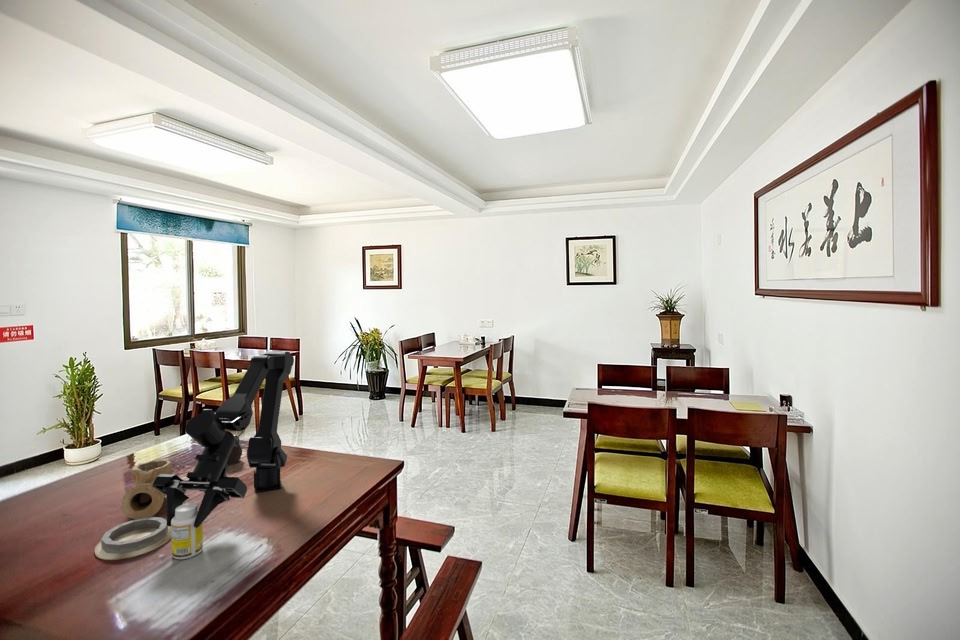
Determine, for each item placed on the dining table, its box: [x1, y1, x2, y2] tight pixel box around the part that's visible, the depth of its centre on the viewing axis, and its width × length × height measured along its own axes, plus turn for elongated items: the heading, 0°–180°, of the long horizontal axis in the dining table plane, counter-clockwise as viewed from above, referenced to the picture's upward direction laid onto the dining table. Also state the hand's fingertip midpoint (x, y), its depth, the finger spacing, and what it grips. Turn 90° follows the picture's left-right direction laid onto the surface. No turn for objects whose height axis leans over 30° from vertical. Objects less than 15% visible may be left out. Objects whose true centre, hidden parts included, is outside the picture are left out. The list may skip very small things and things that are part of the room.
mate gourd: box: [226, 430, 245, 466], centre depth 146 cm, size 7×8×10 cm
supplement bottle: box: [171, 502, 204, 560], centre depth 95 cm, size 6×6×10 cm
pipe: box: [121, 459, 173, 520], centre depth 115 cm, size 9×16×10 cm, turn 25°
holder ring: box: [94, 516, 172, 561], centre depth 100 cm, size 14×14×3 cm
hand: (182, 526), depth 94 cm, fingers closed on supplement bottle, 5 cm apart
